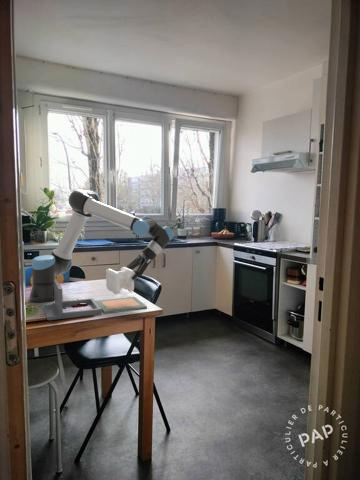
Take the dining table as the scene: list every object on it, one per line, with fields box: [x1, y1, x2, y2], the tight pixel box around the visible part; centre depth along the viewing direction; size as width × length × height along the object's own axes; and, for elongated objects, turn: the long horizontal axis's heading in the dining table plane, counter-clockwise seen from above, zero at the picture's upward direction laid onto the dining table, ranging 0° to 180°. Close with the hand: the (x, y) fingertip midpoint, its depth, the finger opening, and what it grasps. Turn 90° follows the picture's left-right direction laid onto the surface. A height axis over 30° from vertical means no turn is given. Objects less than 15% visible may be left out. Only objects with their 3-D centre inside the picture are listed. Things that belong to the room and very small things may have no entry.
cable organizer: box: [105, 266, 135, 295], centre depth 179 cm, size 15×11×12 cm
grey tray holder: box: [43, 279, 103, 321], centre depth 169 cm, size 20×24×14 cm
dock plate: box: [95, 296, 148, 314], centre depth 180 cm, size 20×22×1 cm
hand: (124, 281), depth 180 cm, fingers closed on cable organizer, 11 cm apart
